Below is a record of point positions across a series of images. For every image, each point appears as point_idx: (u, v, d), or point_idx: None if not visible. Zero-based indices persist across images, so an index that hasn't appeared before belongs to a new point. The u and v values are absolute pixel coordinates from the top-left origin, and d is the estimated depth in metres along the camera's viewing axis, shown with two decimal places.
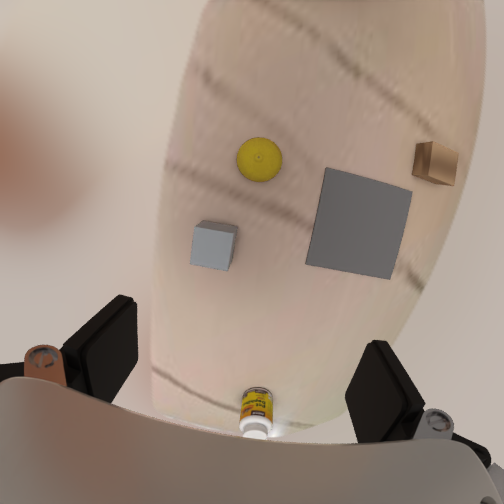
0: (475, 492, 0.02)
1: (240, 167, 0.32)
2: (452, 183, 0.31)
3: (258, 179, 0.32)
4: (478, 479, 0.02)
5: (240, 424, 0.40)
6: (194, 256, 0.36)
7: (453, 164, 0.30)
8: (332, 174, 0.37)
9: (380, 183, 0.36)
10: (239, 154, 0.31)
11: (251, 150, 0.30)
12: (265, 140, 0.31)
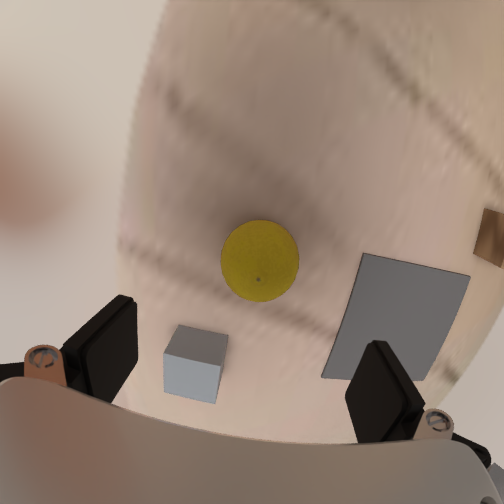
0: (475, 492, 0.02)
1: (226, 282, 0.19)
2: None
3: None
4: (478, 479, 0.02)
5: None
6: (168, 385, 0.23)
7: None
8: (371, 264, 0.24)
9: (434, 271, 0.23)
10: (224, 261, 0.18)
11: (245, 263, 0.17)
12: (271, 237, 0.18)
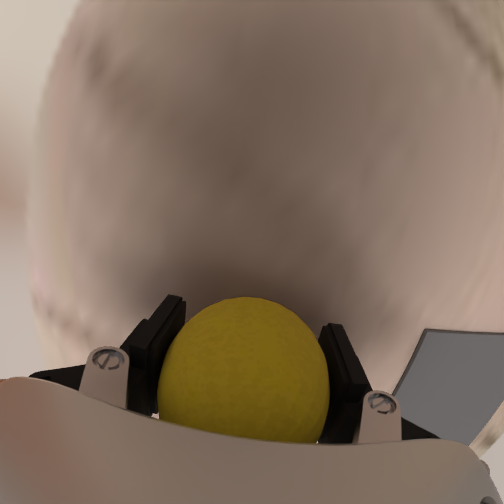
0: (475, 492, 0.02)
1: None
2: None
3: None
4: (478, 479, 0.02)
5: None
6: None
7: None
8: (435, 344, 0.12)
9: None
10: (159, 410, 0.07)
11: None
12: (268, 376, 0.06)
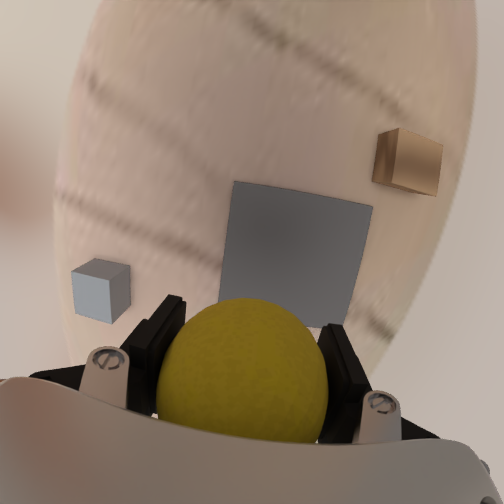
0: (475, 492, 0.02)
1: None
2: (433, 192, 0.21)
3: None
4: (478, 479, 0.02)
5: None
6: (77, 305, 0.26)
7: (435, 163, 0.20)
8: (243, 190, 0.27)
9: (319, 197, 0.26)
10: (157, 411, 0.07)
11: None
12: (267, 378, 0.06)
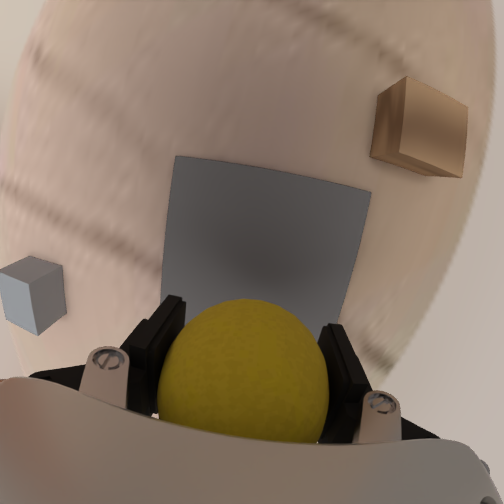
0: (475, 492, 0.02)
1: None
2: (458, 172, 0.13)
3: None
4: (478, 479, 0.02)
5: None
6: (6, 310, 0.18)
7: (460, 130, 0.13)
8: (187, 167, 0.19)
9: (294, 177, 0.19)
10: (158, 412, 0.07)
11: None
12: (268, 379, 0.06)
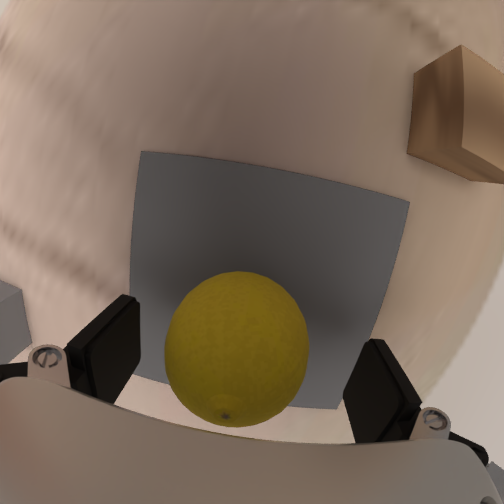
0: (475, 492, 0.02)
1: None
2: None
3: None
4: (478, 479, 0.02)
5: None
6: None
7: None
8: (156, 167, 0.13)
9: (306, 180, 0.13)
10: (165, 360, 0.09)
11: (198, 381, 0.07)
12: (255, 324, 0.08)
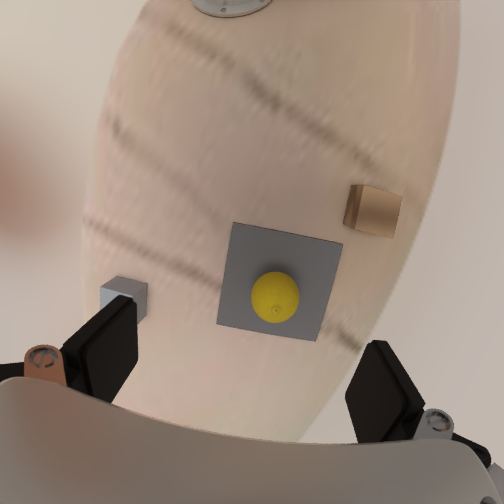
0: (475, 492, 0.02)
1: (255, 311, 0.31)
2: (390, 235, 0.29)
3: None
4: (478, 479, 0.02)
5: None
6: None
7: (394, 212, 0.29)
8: (240, 230, 0.35)
9: (299, 237, 0.34)
10: (254, 298, 0.30)
11: (268, 301, 0.29)
12: (283, 285, 0.29)
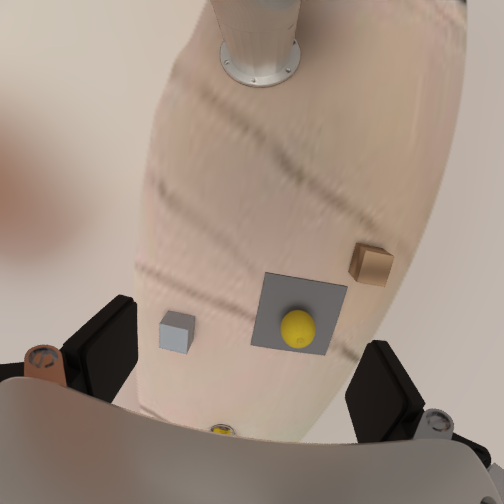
0: (475, 492, 0.02)
1: (284, 340, 0.42)
2: (383, 285, 0.40)
3: None
4: (478, 479, 0.02)
5: None
6: (161, 343, 0.45)
7: (387, 268, 0.39)
8: (270, 278, 0.45)
9: (315, 283, 0.45)
10: (284, 332, 0.41)
11: (295, 335, 0.40)
12: (305, 323, 0.40)
